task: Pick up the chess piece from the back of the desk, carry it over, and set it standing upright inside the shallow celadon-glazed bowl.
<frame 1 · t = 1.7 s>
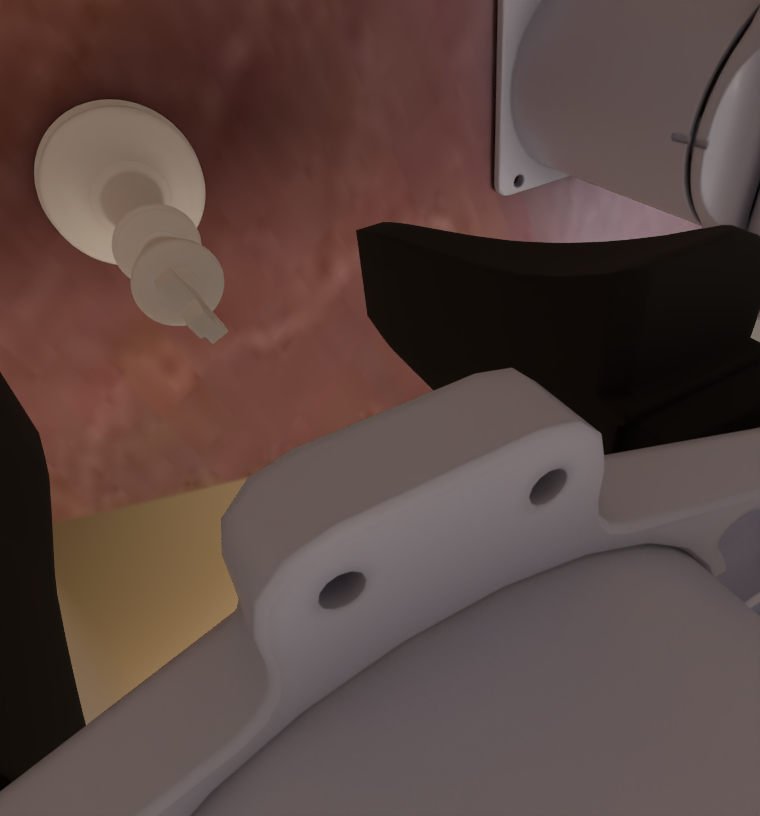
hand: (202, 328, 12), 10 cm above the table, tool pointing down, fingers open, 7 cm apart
chess piece: (122, 183, 19), on the table
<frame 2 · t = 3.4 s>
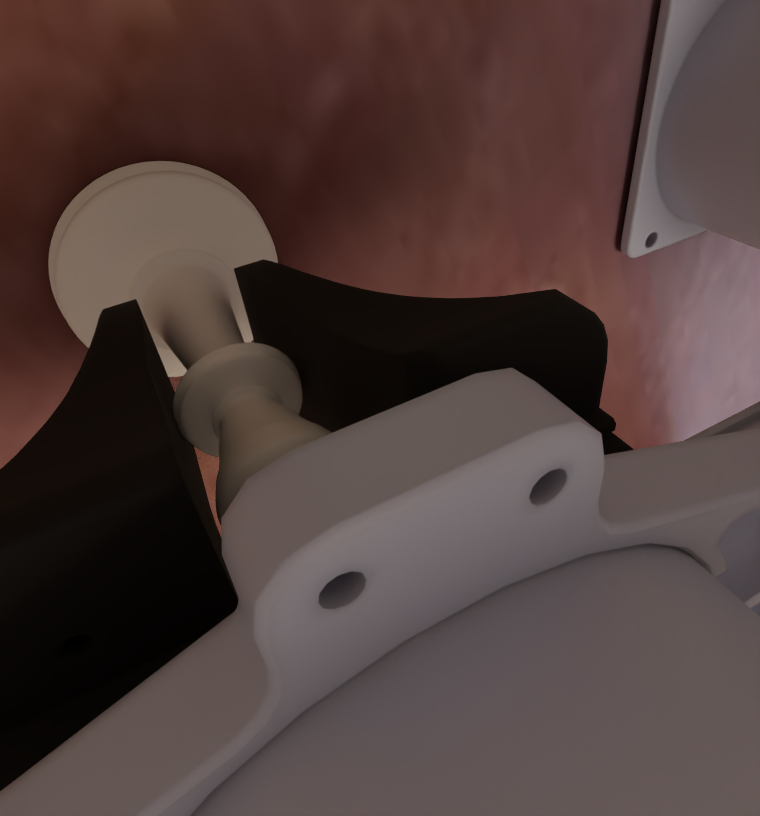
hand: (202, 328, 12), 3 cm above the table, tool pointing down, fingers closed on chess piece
chess piece: (168, 269, 14), on the table, touching gripper
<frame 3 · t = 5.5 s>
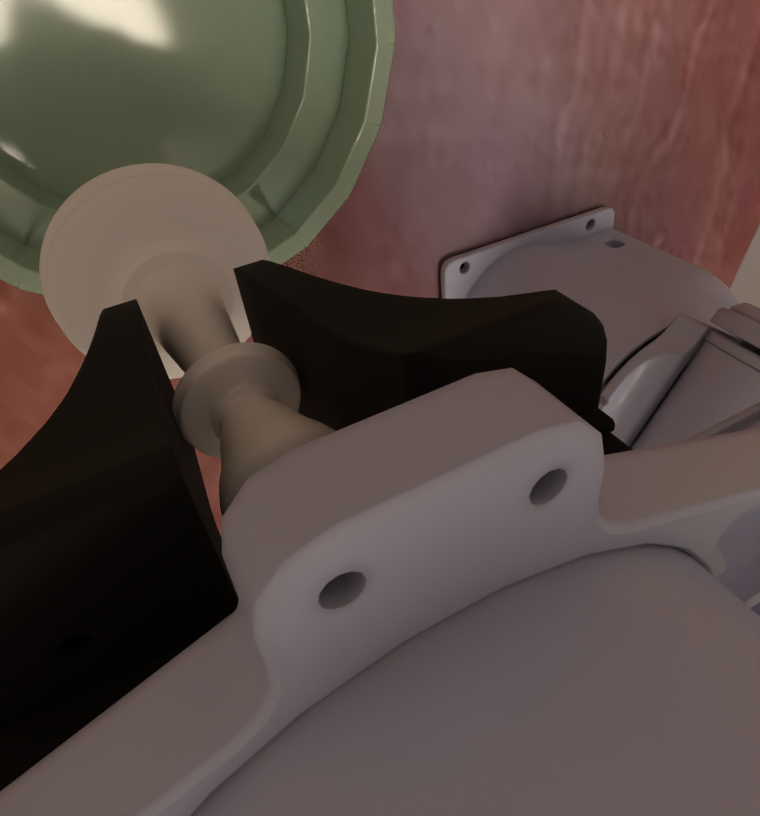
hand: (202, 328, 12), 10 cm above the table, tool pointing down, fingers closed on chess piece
bowl: (113, 27, 17), on the table
chess piece: (160, 272, 14), point 7 cm above the table, touching gripper
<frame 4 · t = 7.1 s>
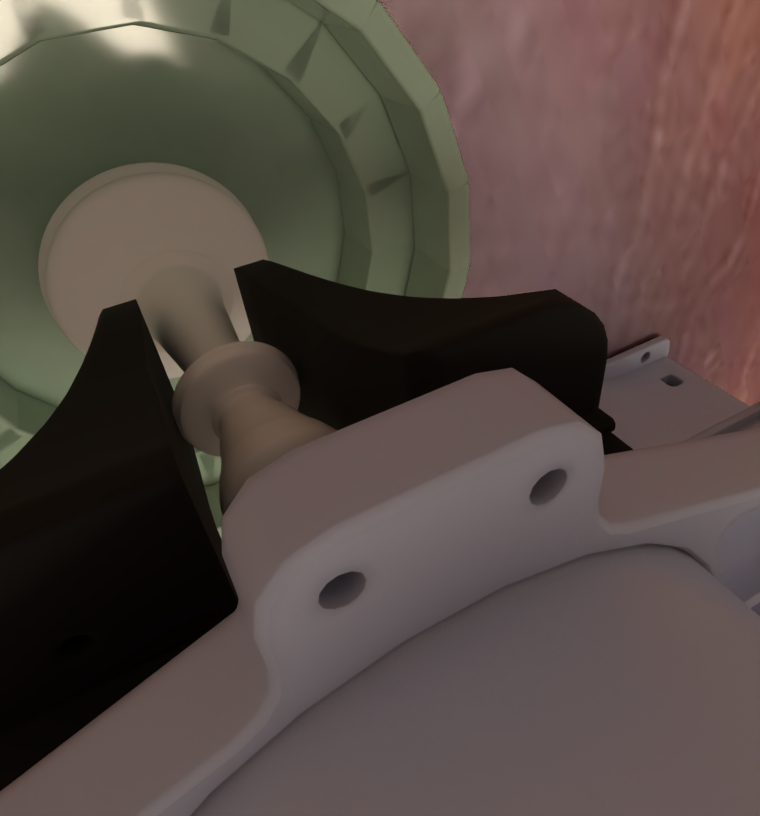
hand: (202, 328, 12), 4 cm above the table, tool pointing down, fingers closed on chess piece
bowl: (157, 248, 15), on the table
chess piece: (159, 271, 14), point 1 cm above the table, touching gripper
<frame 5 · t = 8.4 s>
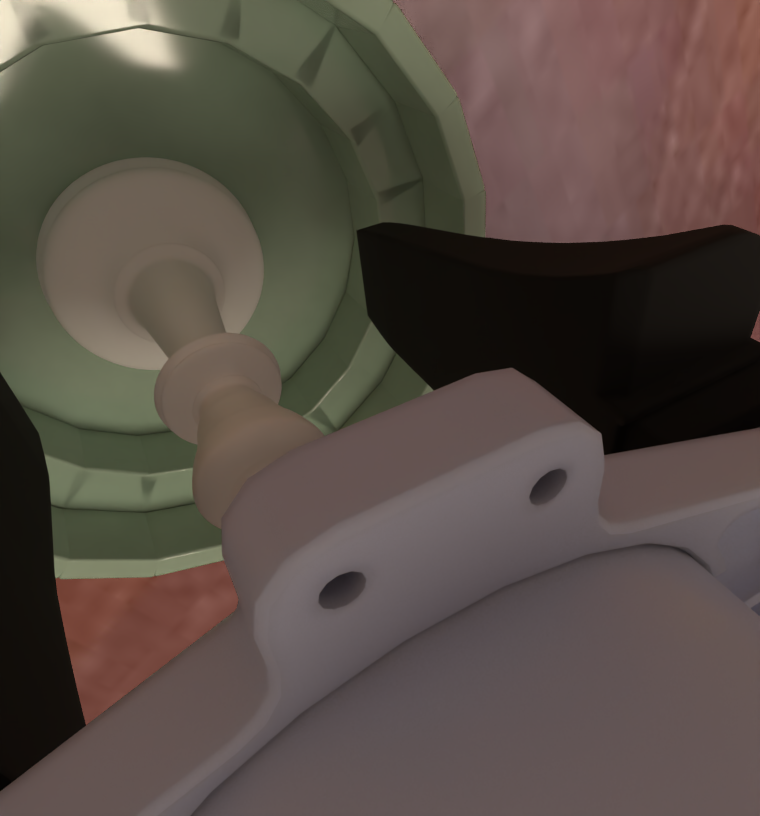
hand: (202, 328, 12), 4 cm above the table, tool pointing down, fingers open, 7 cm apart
bowl: (162, 257, 15), on the table
chess piece: (155, 264, 14), resting on bowl
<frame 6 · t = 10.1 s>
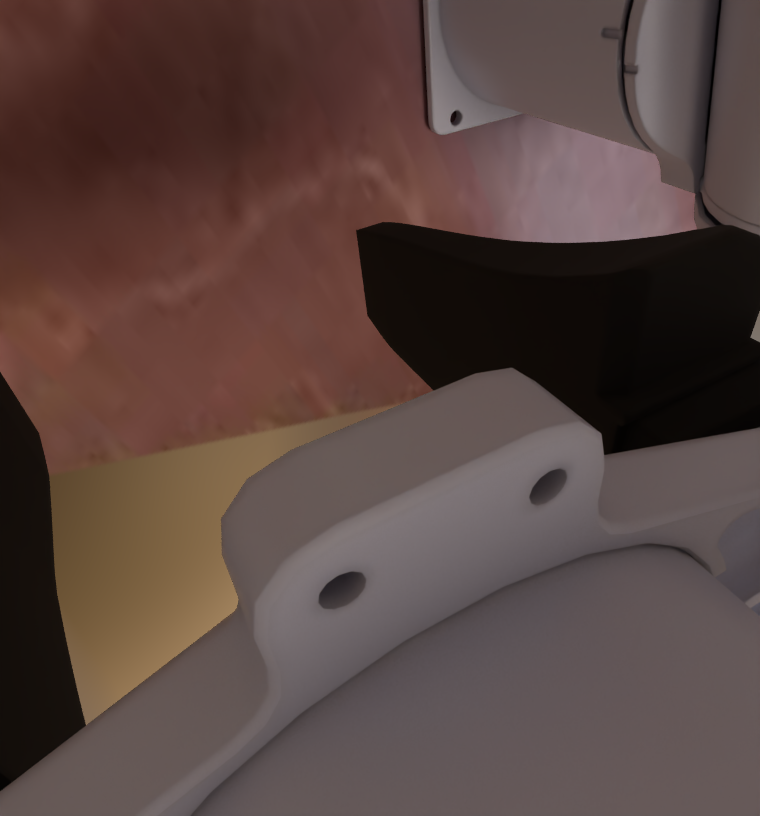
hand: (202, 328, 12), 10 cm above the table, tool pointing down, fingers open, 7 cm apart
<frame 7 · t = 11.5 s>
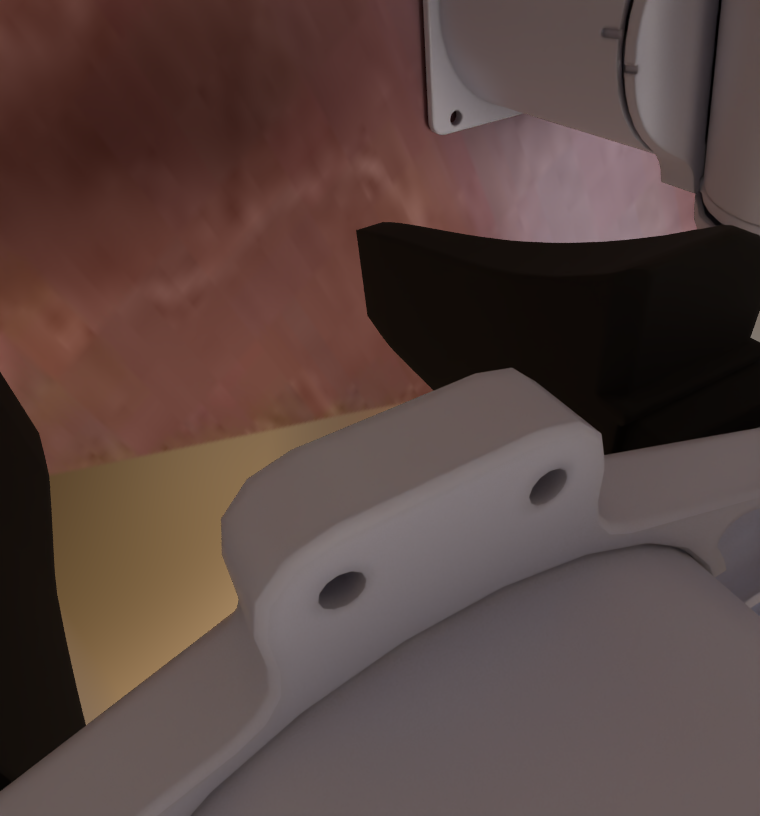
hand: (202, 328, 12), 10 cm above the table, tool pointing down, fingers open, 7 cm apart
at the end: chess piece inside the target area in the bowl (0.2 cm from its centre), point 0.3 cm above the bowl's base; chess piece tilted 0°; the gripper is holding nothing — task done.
